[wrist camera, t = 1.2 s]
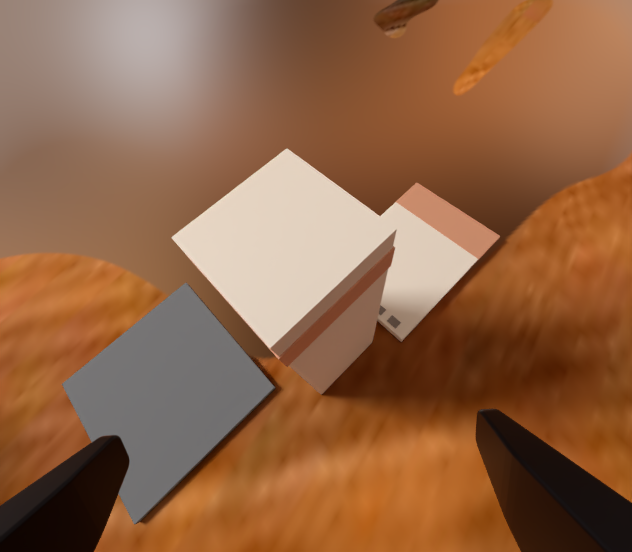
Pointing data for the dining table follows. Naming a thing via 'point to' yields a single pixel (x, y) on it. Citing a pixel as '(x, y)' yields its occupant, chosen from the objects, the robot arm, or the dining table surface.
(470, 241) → the cream block pink end
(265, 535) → the dining table surface
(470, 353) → the dining table surface
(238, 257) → the beige tall block
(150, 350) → the mat
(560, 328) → the dining table surface
